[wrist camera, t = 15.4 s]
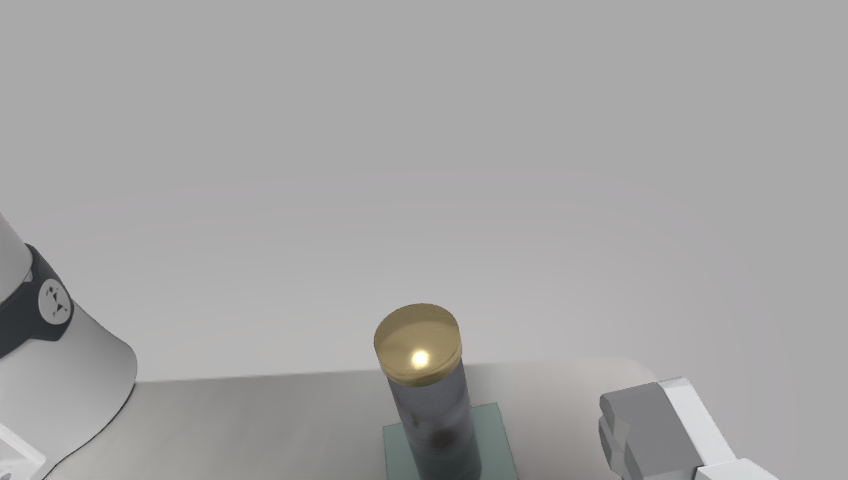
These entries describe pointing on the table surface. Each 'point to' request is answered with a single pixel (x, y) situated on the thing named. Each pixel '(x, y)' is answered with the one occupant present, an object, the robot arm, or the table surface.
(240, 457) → the table surface
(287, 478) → the table surface
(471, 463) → the pepper mill
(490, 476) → the mat
